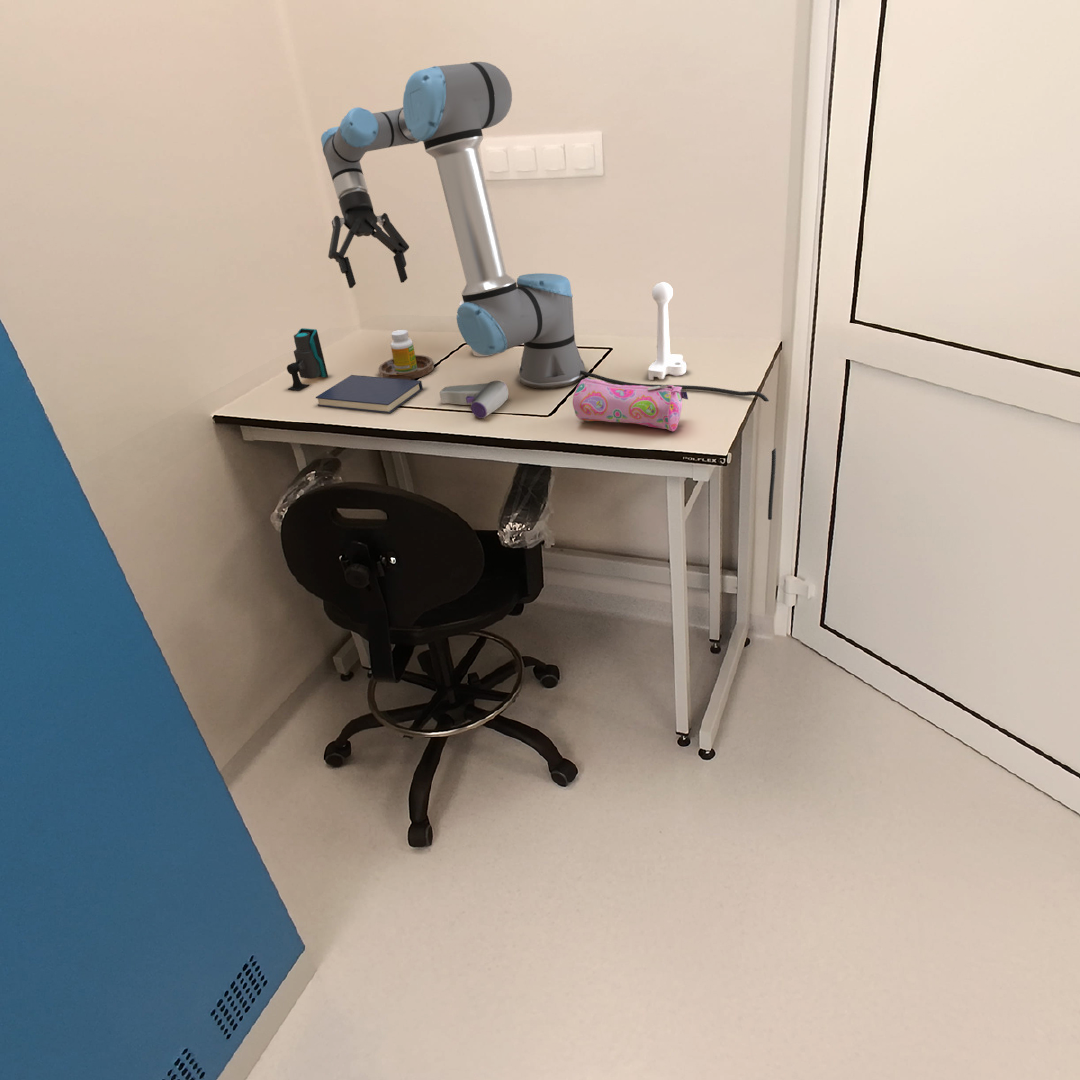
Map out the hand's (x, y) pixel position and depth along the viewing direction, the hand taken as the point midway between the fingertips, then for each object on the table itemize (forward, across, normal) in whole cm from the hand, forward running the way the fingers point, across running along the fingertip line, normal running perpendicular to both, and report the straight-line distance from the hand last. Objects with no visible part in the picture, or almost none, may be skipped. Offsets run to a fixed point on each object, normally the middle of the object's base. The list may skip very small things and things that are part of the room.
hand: (378, 283), depth 194 cm
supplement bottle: (+21, -2, -3) cm, 22 cm away
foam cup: (+21, -23, +2) cm, 31 cm away
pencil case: (+51, -18, +54) cm, 77 cm away
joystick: (+42, -43, +43) cm, 74 cm away
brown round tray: (+21, -2, -3) cm, 22 cm away
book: (+27, +12, +4) cm, 30 cm away
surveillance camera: (+18, +19, -16) cm, 30 cm away
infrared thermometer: (+38, 0, +25) cm, 45 cm away
